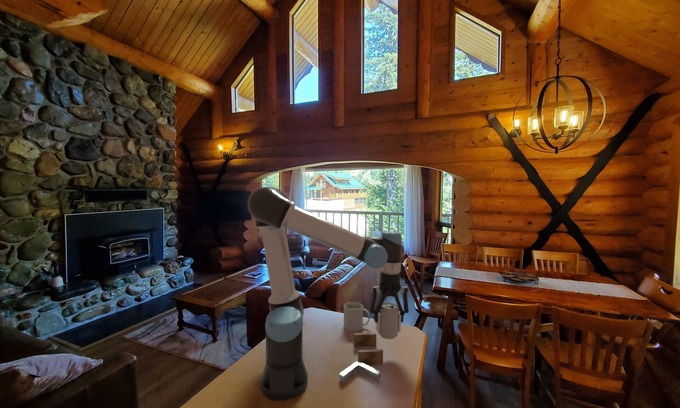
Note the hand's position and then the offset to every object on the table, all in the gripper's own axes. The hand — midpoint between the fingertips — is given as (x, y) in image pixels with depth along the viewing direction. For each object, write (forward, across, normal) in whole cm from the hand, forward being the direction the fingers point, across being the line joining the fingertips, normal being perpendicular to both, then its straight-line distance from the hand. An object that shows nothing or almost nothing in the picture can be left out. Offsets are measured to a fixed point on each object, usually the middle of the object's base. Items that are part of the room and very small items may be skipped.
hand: (388, 330), depth 110 cm
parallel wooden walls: (+10, -8, 0) cm, 12 cm away
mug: (+10, -10, +22) cm, 26 cm away
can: (+2, 0, 0) cm, 2 cm away
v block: (+10, -13, -12) cm, 20 cm away
